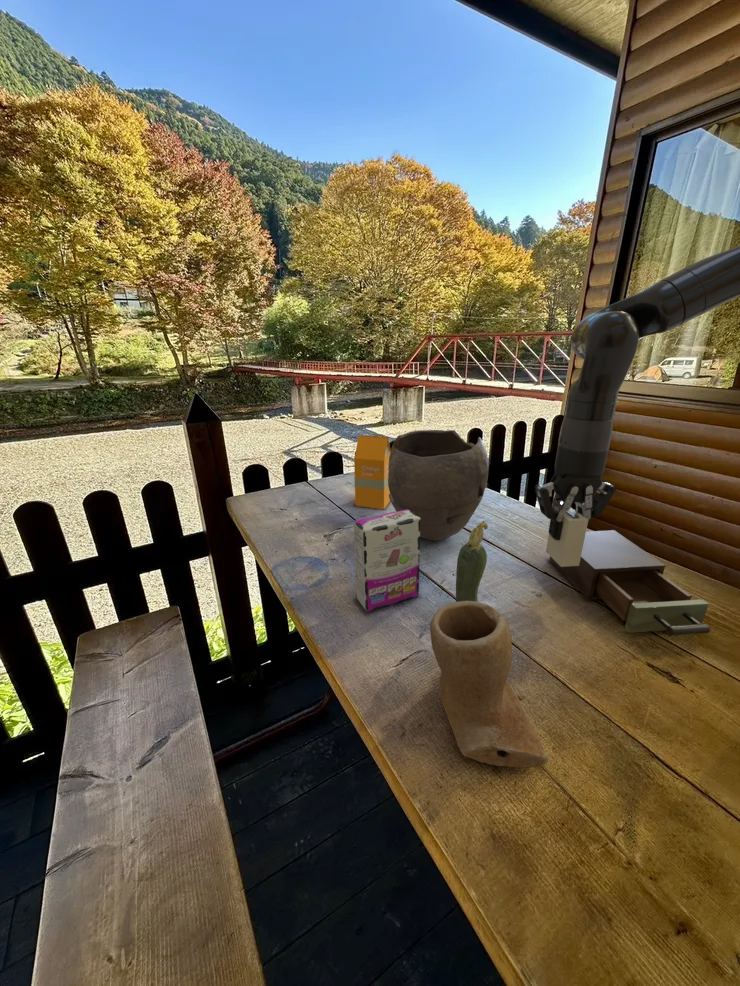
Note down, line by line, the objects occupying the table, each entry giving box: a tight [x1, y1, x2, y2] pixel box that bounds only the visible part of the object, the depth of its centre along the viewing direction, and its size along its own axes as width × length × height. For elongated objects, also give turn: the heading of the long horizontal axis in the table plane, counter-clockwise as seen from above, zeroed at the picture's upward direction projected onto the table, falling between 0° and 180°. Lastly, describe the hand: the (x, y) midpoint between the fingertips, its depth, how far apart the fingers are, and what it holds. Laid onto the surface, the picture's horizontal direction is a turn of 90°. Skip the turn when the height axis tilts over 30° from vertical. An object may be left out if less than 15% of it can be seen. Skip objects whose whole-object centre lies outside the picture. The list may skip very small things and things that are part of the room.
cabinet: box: [549, 529, 666, 601], centre depth 82 cm, size 15×14×7 cm
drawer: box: [594, 570, 711, 636], centre depth 70 cm, size 18×12×5 cm
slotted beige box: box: [545, 507, 589, 567], centre depth 73 cm, size 3×6×9 cm, turn 5°
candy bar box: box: [353, 509, 421, 613], centre depth 74 cm, size 11×5×16 cm, turn 115°
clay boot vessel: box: [429, 601, 549, 769], centre depth 50 cm, size 15×12×15 cm
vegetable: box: [455, 520, 489, 602], centre depth 65 cm, size 4×4×20 cm
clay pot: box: [388, 429, 490, 542], centre depth 96 cm, size 24×24×25 cm
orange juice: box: [353, 434, 391, 510], centre depth 117 cm, size 8×9×20 cm
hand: (565, 537), depth 73 cm, fingers closed on slotted beige box, 3 cm apart
